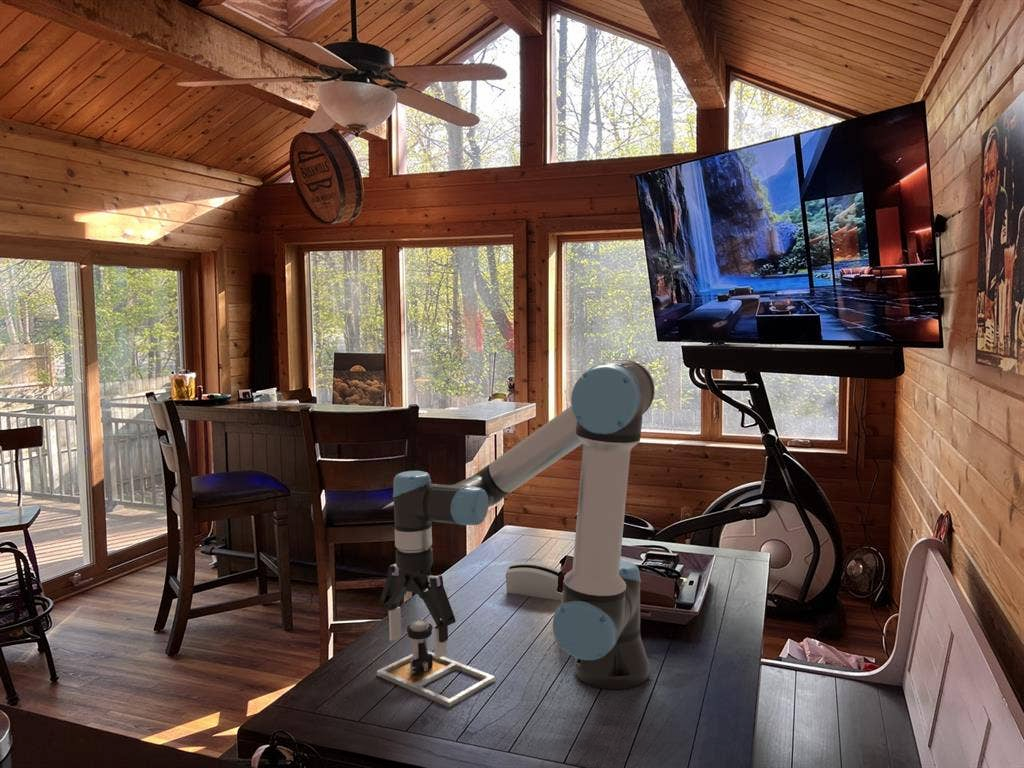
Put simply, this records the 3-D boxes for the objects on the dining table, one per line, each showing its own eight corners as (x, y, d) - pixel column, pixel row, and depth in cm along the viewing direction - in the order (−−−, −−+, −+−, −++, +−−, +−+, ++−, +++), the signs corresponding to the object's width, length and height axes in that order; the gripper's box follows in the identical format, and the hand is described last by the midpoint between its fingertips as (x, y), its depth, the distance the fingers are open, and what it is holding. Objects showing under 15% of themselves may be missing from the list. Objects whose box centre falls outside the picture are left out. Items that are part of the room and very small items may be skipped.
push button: (417, 680, 155) (416, 632, 154) (398, 673, 158) (396, 627, 157) (439, 667, 160) (437, 621, 159) (419, 661, 163) (418, 615, 162)
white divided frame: (495, 681, 154) (494, 676, 154) (449, 707, 144) (449, 702, 144) (423, 653, 168) (422, 648, 168) (376, 675, 158) (376, 670, 158)
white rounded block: (571, 594, 200) (566, 563, 196) (565, 606, 196) (560, 575, 192) (513, 586, 207) (507, 556, 203) (506, 597, 203) (500, 567, 199)
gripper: (471, 553, 152) (474, 656, 154) (387, 532, 168) (391, 626, 170) (444, 564, 146) (447, 670, 148) (360, 541, 162) (364, 637, 164)
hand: (417, 647), depth 159 cm, fingers open, 13 cm apart
